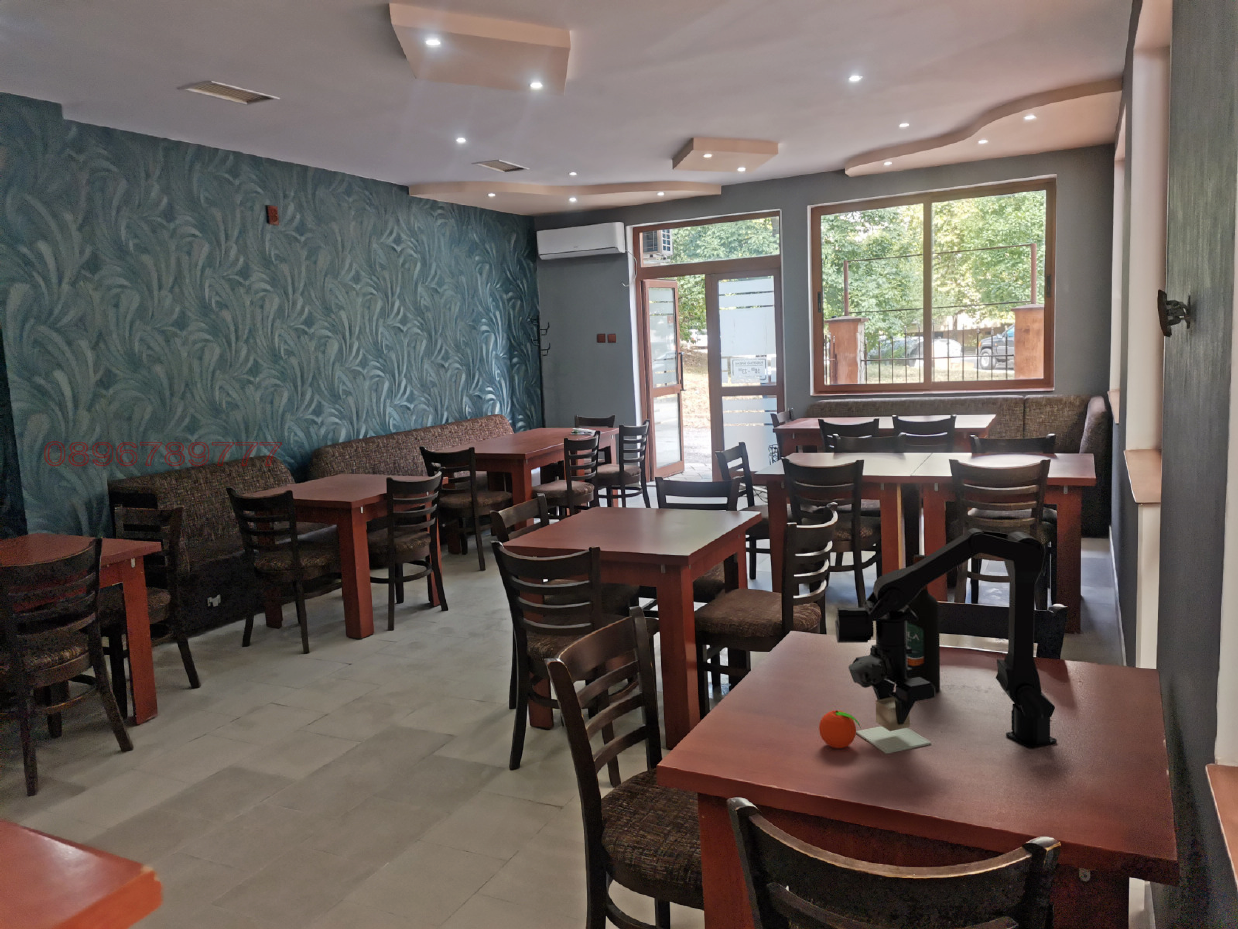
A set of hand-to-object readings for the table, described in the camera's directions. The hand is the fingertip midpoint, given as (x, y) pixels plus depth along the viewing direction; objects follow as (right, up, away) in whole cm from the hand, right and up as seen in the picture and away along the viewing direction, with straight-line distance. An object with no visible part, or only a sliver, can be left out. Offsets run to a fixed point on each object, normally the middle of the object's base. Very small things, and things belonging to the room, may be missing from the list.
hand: (892, 719), depth 170 cm
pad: (0, -4, 0) cm, 4 cm away
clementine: (-11, -5, -2) cm, 12 cm away
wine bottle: (+14, -1, +25) cm, 29 cm away
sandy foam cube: (0, -1, 0) cm, 1 cm away
